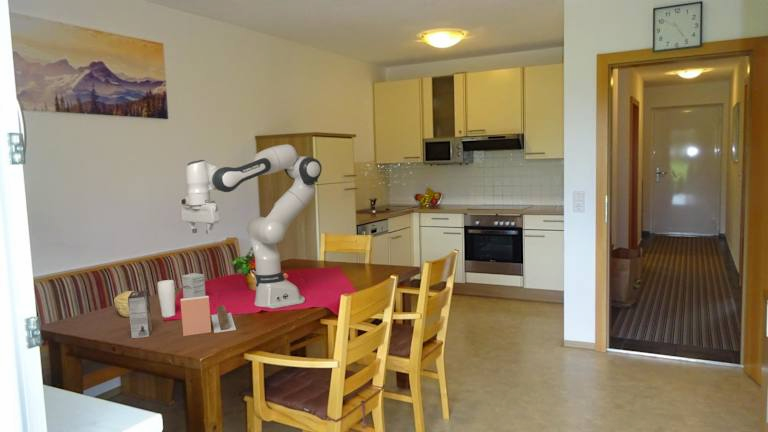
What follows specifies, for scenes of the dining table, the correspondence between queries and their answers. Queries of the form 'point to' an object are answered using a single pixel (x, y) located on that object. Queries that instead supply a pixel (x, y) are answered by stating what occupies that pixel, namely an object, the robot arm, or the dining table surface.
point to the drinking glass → (167, 297)
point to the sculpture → (123, 303)
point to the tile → (195, 315)
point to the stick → (222, 317)
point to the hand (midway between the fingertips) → (201, 233)
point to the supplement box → (193, 285)
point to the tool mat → (217, 325)
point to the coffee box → (140, 314)
